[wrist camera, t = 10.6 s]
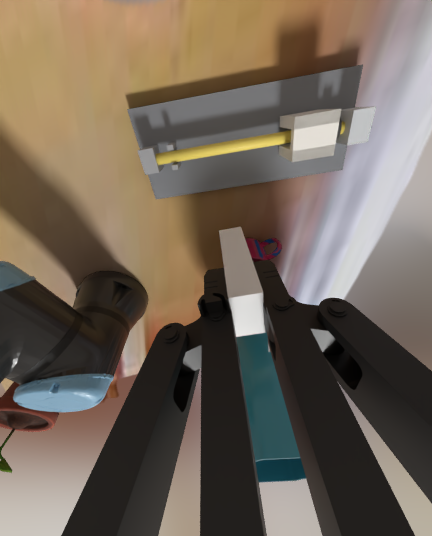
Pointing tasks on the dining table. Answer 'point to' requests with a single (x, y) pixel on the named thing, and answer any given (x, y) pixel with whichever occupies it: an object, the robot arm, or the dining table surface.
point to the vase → (268, 413)
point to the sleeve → (310, 134)
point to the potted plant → (21, 419)
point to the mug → (262, 249)
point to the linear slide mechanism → (244, 133)
